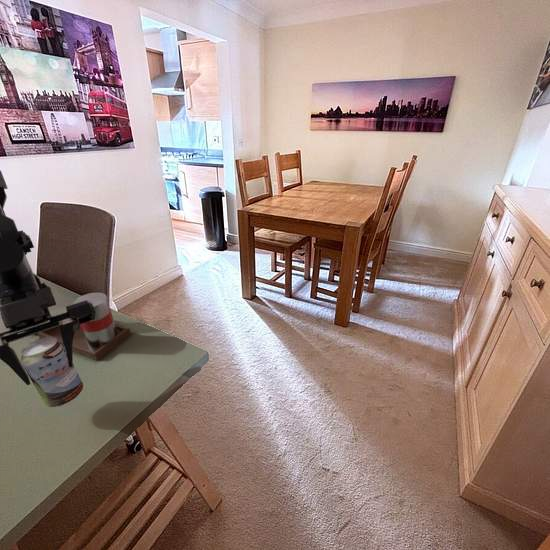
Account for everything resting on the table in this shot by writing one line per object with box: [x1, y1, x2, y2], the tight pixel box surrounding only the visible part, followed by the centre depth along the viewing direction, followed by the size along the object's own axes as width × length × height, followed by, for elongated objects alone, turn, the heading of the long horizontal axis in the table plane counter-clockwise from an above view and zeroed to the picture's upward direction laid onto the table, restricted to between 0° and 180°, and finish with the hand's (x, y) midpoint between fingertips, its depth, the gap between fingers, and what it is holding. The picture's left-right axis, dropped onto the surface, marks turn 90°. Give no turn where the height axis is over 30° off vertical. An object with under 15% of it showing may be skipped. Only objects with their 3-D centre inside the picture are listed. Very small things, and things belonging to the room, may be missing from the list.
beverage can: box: [20, 337, 84, 408], centre depth 52 cm, size 6×7×12 cm
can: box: [73, 292, 117, 350], centre depth 71 cm, size 7×7×12 cm
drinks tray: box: [36, 322, 132, 362], centre depth 76 cm, size 19×10×2 cm, turn 68°
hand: (50, 375), depth 51 cm, fingers closed on beverage can, 6 cm apart
